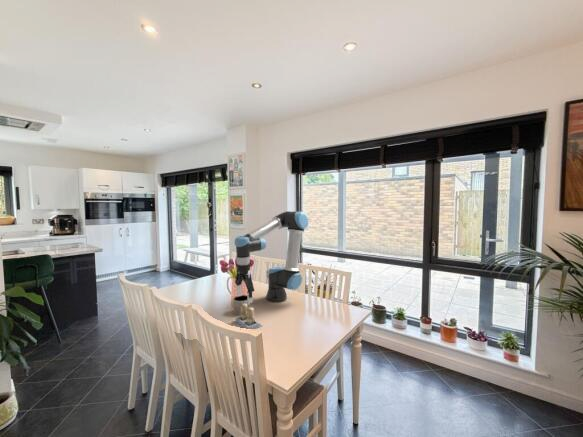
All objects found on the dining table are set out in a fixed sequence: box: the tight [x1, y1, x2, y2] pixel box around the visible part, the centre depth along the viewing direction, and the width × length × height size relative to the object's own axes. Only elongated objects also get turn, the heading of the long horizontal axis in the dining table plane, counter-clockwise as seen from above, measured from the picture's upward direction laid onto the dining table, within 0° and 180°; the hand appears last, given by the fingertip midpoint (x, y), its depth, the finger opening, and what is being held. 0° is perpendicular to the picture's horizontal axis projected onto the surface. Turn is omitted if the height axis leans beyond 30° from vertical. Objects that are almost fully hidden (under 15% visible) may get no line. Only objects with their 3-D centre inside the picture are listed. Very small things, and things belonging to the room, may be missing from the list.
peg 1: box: [240, 304, 247, 321], centre depth 152 cm, size 4×4×10 cm
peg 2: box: [247, 307, 255, 326], centre depth 145 cm, size 4×4×10 cm
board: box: [232, 315, 264, 330], centre depth 149 cm, size 12×16×3 cm
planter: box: [232, 294, 252, 316], centre depth 165 cm, size 11×11×10 cm
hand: (244, 299), depth 151 cm, fingers open, 13 cm apart
